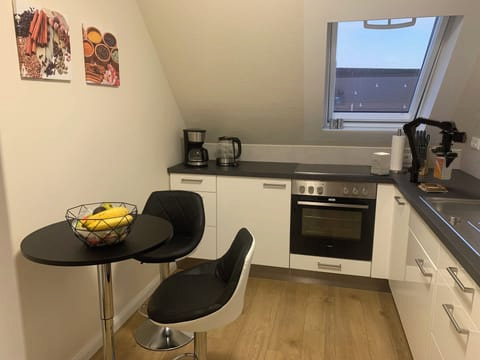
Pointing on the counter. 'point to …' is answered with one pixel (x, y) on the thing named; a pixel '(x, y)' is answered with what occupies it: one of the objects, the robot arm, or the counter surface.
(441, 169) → the small box
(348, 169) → the counter surface
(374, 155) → the supplement box
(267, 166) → the counter surface
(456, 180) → the counter surface
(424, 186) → the wooden tray
